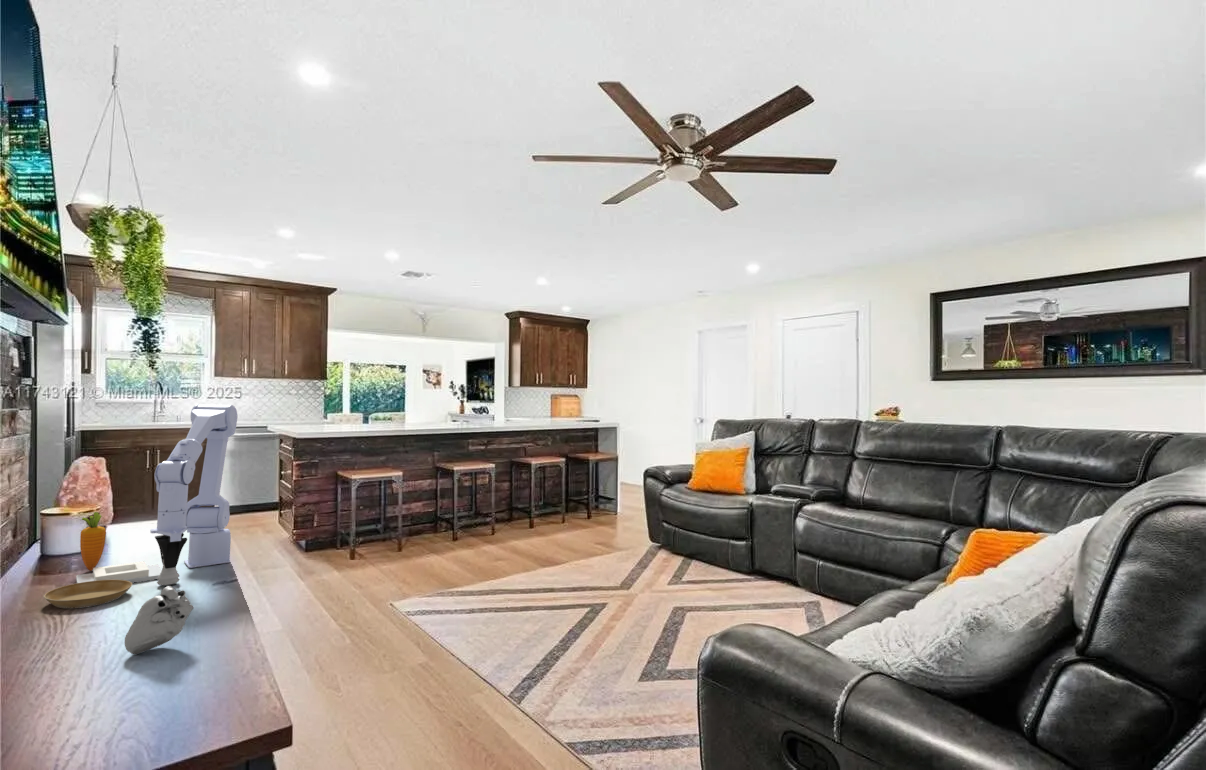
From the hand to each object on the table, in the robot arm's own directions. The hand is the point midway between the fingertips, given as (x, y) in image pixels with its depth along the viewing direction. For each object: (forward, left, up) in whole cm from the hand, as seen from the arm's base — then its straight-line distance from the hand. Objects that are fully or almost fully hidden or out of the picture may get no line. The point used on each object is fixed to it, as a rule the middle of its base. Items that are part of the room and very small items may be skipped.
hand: (169, 565), depth 139 cm
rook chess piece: (0, 0, -4) cm, 4 cm away
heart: (+7, +43, -5) cm, 44 cm away
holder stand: (+8, -13, -5) cm, 16 cm away
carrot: (+13, -26, -5) cm, 29 cm away
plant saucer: (+14, +2, -5) cm, 15 cm away
